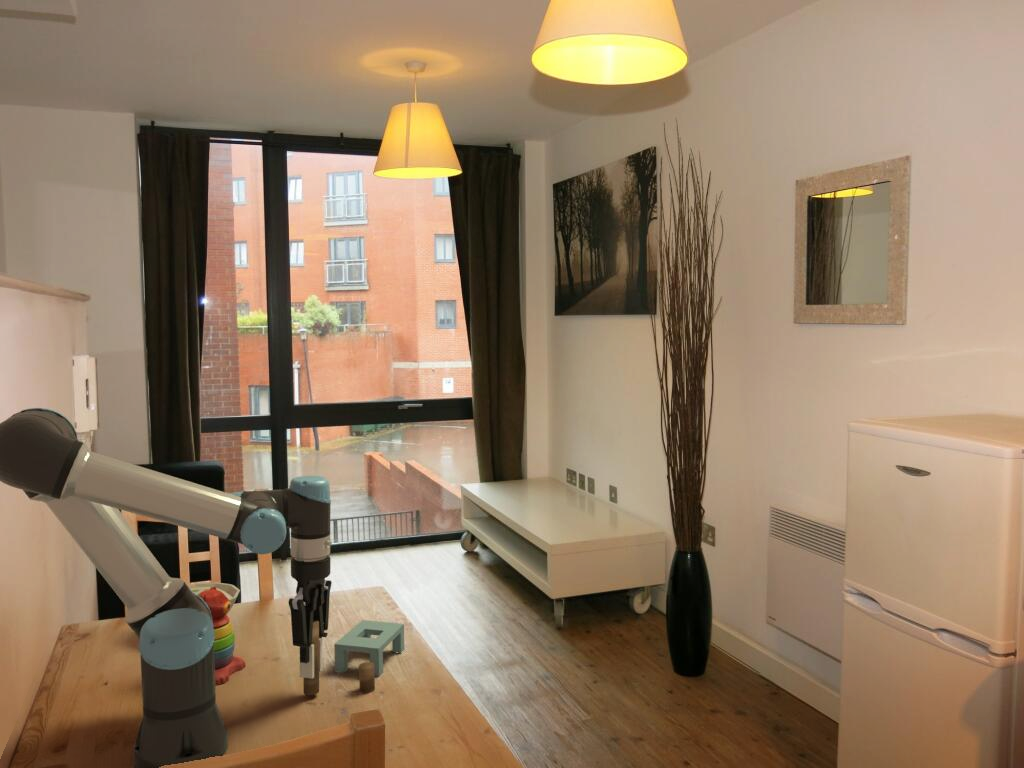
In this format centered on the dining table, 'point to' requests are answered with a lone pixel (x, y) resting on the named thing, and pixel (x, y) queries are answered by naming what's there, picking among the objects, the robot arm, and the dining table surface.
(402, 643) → the green stand with hole
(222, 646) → the stacking bear
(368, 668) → the short pin
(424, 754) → the dining table surface
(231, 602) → the bowl
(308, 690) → the long pin
